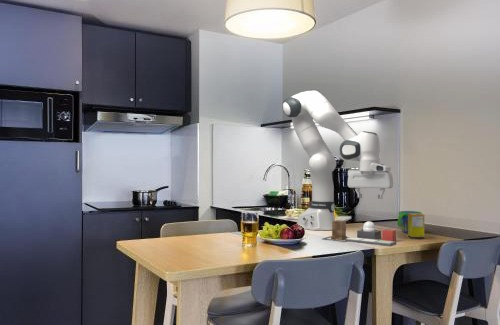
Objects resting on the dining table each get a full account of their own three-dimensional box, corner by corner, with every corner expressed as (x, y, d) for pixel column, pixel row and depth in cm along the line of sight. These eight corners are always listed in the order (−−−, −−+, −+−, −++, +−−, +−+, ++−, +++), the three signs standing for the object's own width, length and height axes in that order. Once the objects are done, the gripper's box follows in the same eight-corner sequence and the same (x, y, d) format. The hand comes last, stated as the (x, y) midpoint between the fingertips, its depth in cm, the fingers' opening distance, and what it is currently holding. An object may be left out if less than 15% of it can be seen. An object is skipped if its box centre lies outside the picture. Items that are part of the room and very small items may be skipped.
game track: (344, 241, 195) (344, 239, 195) (352, 238, 202) (352, 236, 202) (389, 246, 184) (389, 243, 184) (396, 243, 190) (396, 241, 190)
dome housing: (357, 238, 202) (357, 230, 202) (363, 236, 209) (363, 228, 209) (374, 240, 198) (374, 232, 198) (380, 238, 204) (381, 230, 204)
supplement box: (420, 236, 210) (421, 213, 210) (424, 239, 204) (424, 214, 204) (407, 236, 210) (407, 212, 210) (410, 238, 204) (411, 214, 204)
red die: (382, 240, 198) (382, 230, 198) (385, 239, 201) (385, 228, 201) (392, 241, 195) (392, 230, 195) (395, 240, 199) (395, 229, 199)
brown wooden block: (330, 239, 200) (331, 221, 200) (336, 237, 205) (336, 220, 205) (341, 240, 197) (342, 221, 197) (346, 238, 202) (346, 220, 202)
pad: (321, 239, 200) (321, 238, 200) (332, 236, 209) (332, 235, 209) (345, 241, 193) (345, 241, 193) (355, 238, 202) (355, 237, 202)
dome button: (361, 234, 203) (361, 221, 203) (365, 232, 207) (365, 220, 207) (372, 235, 200) (372, 222, 200) (376, 233, 204) (376, 221, 204)
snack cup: (405, 235, 215) (405, 213, 215) (390, 231, 225) (390, 211, 225) (430, 233, 222) (430, 212, 222) (414, 230, 231) (414, 210, 231)
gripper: (345, 167, 207) (345, 197, 207) (389, 167, 195) (389, 199, 195) (350, 167, 212) (351, 197, 212) (394, 167, 200) (394, 198, 200)
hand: (369, 198), depth 203 cm, fingers open, 8 cm apart
